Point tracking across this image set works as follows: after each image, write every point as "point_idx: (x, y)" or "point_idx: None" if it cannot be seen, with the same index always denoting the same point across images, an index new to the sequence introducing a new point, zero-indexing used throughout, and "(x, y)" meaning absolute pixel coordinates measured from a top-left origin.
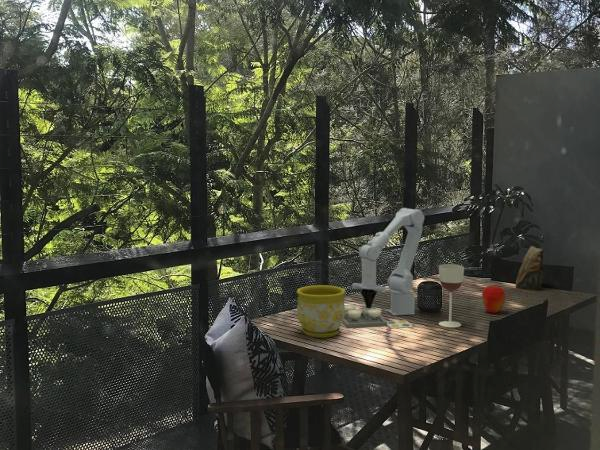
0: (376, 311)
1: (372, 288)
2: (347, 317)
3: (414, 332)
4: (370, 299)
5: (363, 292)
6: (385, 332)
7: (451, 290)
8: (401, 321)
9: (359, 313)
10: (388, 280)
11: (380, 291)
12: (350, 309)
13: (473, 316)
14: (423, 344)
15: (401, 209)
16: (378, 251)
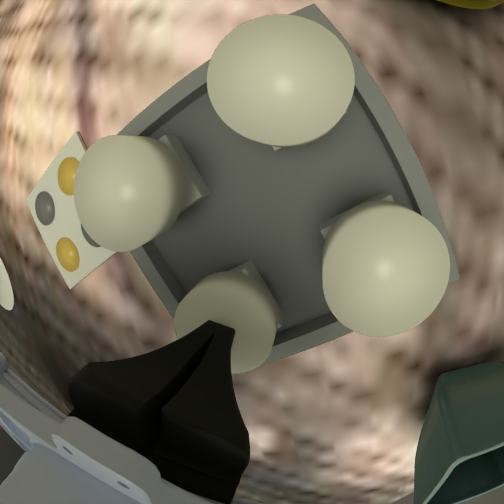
0: (89, 161)
1: (27, 412)
2: (379, 198)
3: (17, 132)
4: (151, 356)
5: (188, 422)
6: (91, 57)
7: None
8: (69, 258)
9: (217, 58)
10: None
11: (18, 382)
12: (366, 209)
13: (11, 358)
14: (8, 35)
15: None
16: None
